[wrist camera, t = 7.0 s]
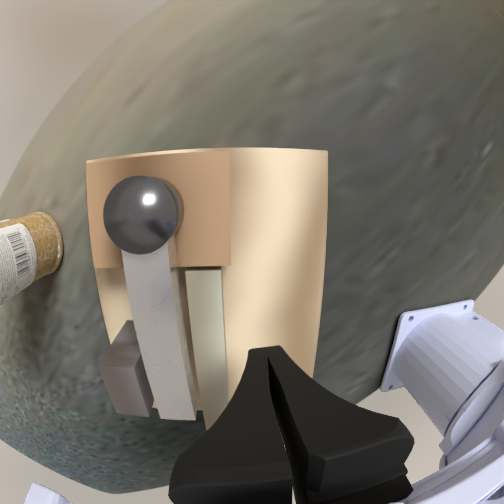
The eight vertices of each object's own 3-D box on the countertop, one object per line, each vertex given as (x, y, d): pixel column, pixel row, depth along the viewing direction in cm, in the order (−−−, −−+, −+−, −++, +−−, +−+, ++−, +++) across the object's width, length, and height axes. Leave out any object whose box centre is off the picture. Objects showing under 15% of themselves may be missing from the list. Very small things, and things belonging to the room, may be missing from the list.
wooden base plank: (322, 152, 15) (369, 139, 10) (305, 395, 20) (325, 450, 14) (93, 161, 14) (37, 155, 9) (133, 397, 19) (114, 451, 13)
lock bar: (119, 180, 11) (100, 180, 9) (182, 174, 11) (173, 172, 9) (157, 400, 14) (151, 422, 12) (206, 401, 14) (204, 425, 12)
